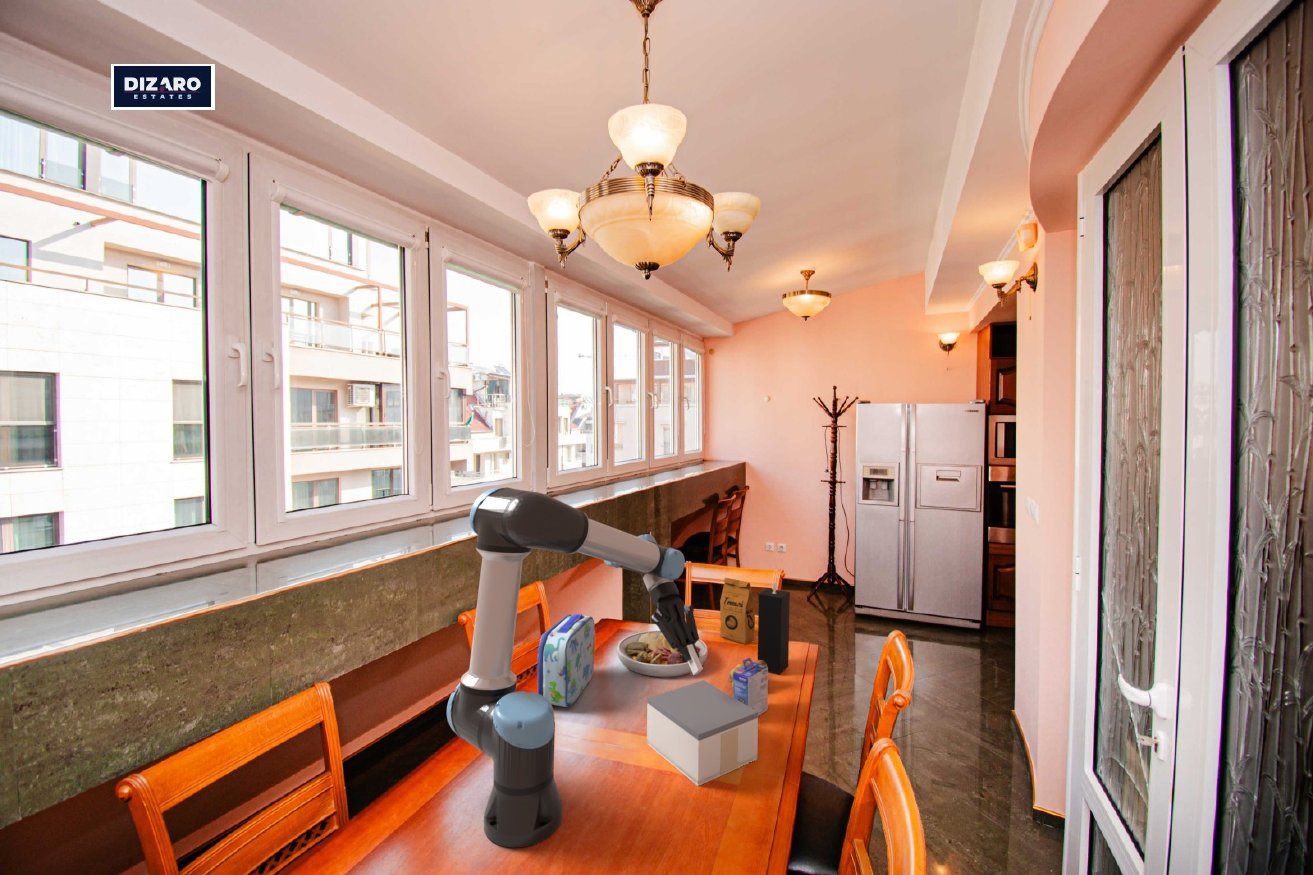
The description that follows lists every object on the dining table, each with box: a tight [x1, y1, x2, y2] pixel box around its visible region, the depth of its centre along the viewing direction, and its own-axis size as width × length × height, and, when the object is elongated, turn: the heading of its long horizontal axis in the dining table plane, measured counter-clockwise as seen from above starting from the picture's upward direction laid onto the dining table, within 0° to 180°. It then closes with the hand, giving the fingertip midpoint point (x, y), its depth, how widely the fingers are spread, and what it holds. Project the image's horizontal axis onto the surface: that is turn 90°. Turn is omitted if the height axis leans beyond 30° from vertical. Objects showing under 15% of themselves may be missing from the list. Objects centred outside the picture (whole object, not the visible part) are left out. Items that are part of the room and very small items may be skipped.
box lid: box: [646, 679, 759, 740], centre depth 138 cm, size 20×18×1 cm
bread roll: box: [728, 659, 767, 690], centre depth 173 cm, size 13×10×8 cm
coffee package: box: [719, 577, 756, 646], centre depth 211 cm, size 10×12×22 cm
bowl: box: [616, 630, 708, 678], centre depth 192 cm, size 30×30×8 cm
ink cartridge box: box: [732, 657, 769, 717], centre depth 157 cm, size 10×6×14 cm, turn 137°
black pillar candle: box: [757, 582, 791, 676], centre depth 186 cm, size 8×8×28 cm
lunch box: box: [537, 613, 596, 708], centre depth 168 cm, size 26×11×21 cm, turn 168°
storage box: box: [646, 703, 759, 787], centre depth 138 cm, size 20×18×10 cm
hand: (698, 671), depth 142 cm, fingers closed
